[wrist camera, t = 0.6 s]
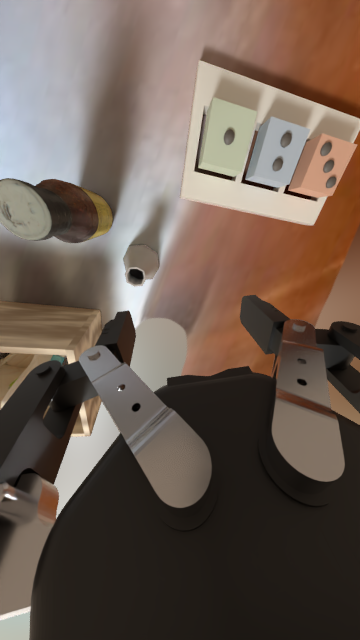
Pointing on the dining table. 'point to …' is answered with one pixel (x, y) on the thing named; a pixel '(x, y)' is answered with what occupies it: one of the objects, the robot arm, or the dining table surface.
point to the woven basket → (53, 341)
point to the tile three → (321, 166)
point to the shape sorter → (19, 371)
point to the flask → (140, 264)
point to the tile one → (226, 137)
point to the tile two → (276, 152)
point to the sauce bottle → (53, 211)
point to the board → (266, 104)
